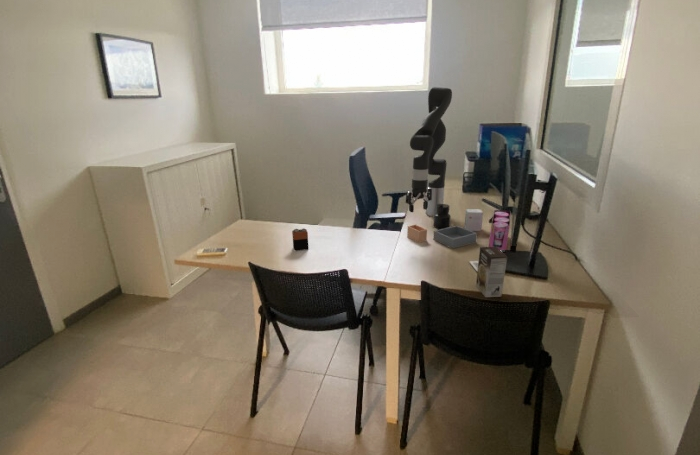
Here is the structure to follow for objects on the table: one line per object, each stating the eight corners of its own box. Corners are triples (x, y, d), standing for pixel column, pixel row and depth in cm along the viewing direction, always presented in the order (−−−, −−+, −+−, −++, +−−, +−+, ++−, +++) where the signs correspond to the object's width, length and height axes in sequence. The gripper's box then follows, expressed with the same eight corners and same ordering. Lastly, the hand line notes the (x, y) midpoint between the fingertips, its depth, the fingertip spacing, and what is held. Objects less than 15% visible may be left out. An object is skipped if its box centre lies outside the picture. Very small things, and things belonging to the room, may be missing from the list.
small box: (479, 227, 205) (481, 209, 201) (481, 231, 200) (483, 212, 196) (463, 227, 206) (465, 208, 202) (465, 231, 200) (467, 212, 197)
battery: (293, 247, 182) (291, 228, 179) (307, 246, 184) (306, 226, 180) (294, 251, 178) (293, 231, 175) (308, 249, 180) (307, 229, 176)
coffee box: (475, 285, 145) (479, 246, 139) (491, 284, 145) (496, 245, 140) (485, 297, 136) (490, 256, 131) (502, 296, 137) (508, 256, 131)
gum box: (505, 254, 172) (509, 226, 167) (487, 252, 175) (490, 224, 170) (507, 236, 192) (511, 211, 188) (491, 234, 195) (494, 209, 191)
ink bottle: (448, 223, 211) (450, 203, 207) (452, 229, 203) (454, 207, 199) (431, 223, 212) (432, 203, 208) (433, 229, 203) (435, 208, 199)
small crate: (407, 237, 194) (407, 226, 192) (414, 235, 196) (415, 224, 194) (418, 242, 186) (419, 231, 184) (426, 240, 189) (427, 229, 186)
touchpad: (486, 263, 165) (487, 258, 164) (501, 279, 150) (501, 274, 150) (468, 263, 164) (469, 259, 163) (481, 279, 150) (482, 275, 149)
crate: (433, 239, 190) (433, 231, 188) (456, 233, 197) (456, 225, 195) (452, 248, 179) (453, 239, 177) (475, 242, 186) (476, 233, 184)
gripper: (426, 175, 187) (424, 206, 192) (403, 178, 180) (401, 210, 186) (436, 177, 181) (434, 210, 186) (413, 181, 174) (411, 214, 179)
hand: (418, 210), depth 186 cm, fingers open, 8 cm apart
